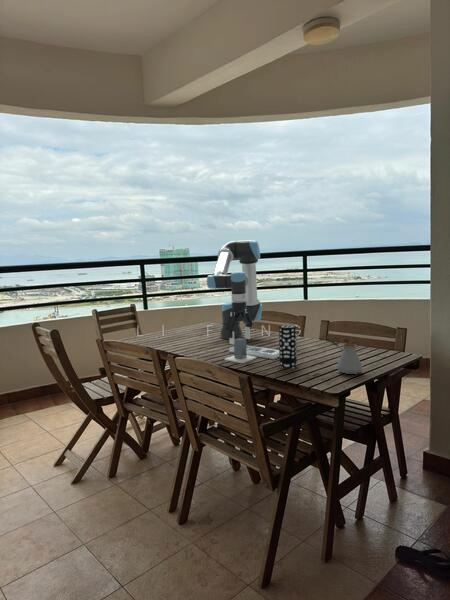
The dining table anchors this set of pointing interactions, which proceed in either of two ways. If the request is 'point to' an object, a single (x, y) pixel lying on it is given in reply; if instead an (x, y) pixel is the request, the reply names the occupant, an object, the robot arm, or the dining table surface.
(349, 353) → the coffee pot
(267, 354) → the white socket board
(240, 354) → the steel plug
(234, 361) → the pad
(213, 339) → the dining table surface
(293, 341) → the spotted tube
